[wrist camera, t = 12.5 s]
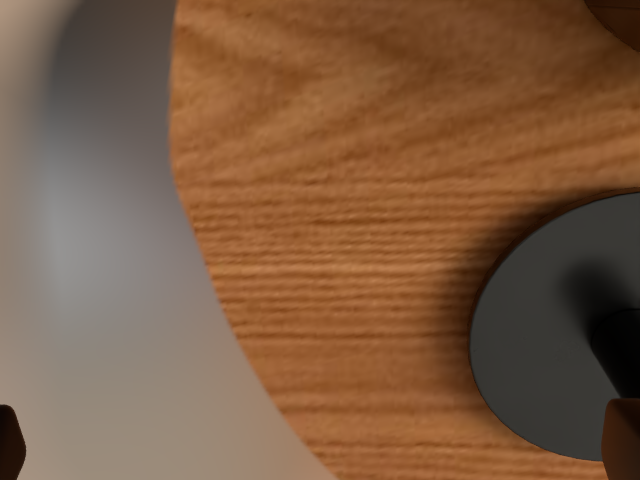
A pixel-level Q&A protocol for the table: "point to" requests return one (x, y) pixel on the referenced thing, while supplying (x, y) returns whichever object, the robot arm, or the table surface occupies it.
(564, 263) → the lid
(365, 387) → the table surface
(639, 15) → the pot
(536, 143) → the table surface
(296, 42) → the table surface
